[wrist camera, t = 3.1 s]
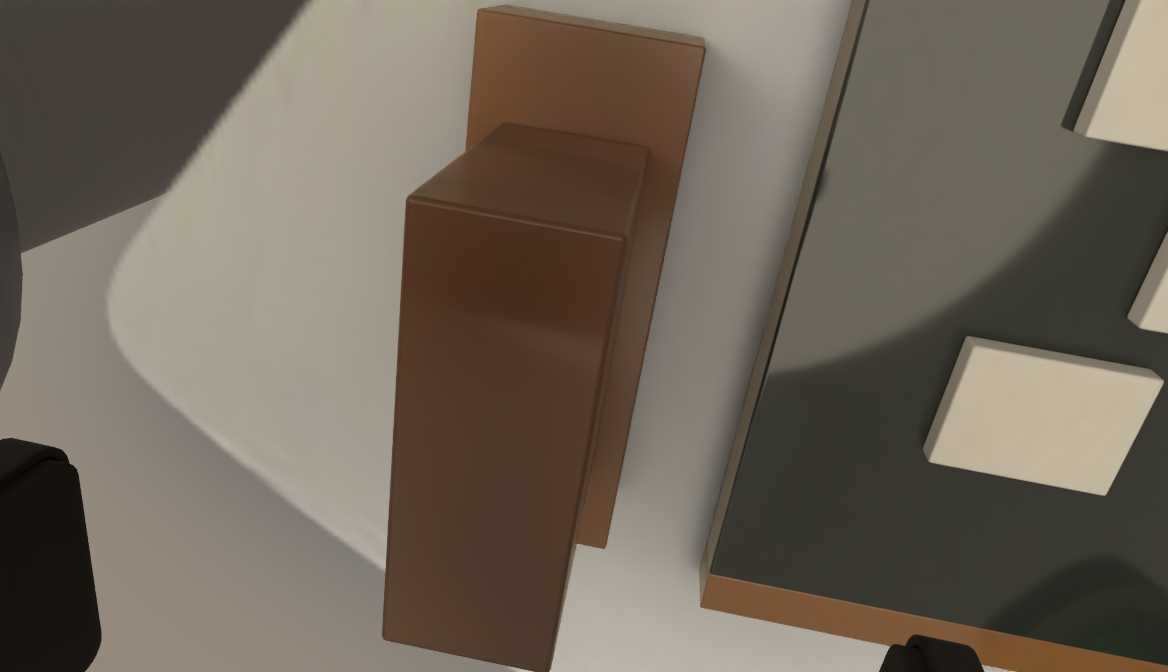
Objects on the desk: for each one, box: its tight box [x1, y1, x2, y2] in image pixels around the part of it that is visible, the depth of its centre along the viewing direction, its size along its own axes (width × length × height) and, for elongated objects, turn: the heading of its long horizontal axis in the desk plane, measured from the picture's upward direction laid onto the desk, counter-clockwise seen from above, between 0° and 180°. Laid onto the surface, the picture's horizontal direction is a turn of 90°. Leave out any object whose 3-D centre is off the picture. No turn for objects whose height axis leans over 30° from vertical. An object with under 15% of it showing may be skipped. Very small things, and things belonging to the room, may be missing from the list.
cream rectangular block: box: [923, 336, 1164, 496], centre depth 18 cm, size 4×3×1 cm
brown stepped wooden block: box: [382, 5, 706, 672], centre depth 16 cm, size 4×12×8 cm, turn 172°
